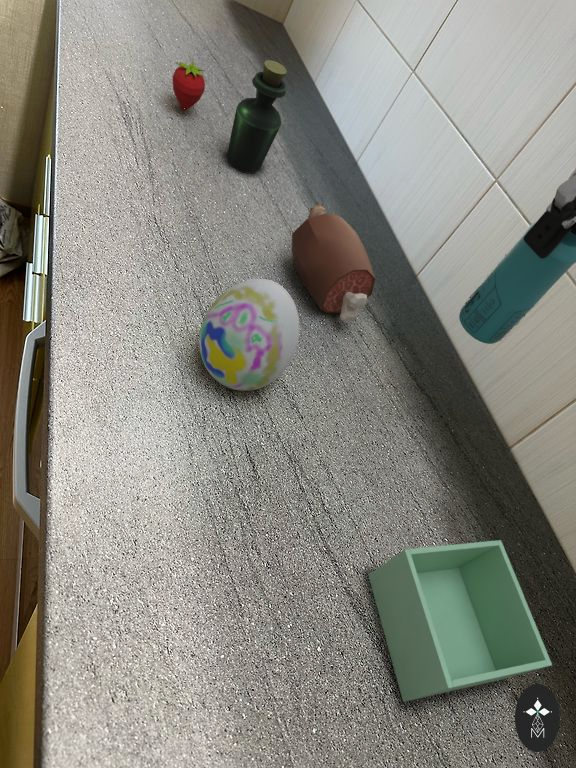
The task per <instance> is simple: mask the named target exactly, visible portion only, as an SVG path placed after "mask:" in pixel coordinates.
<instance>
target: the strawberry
mask: <svg viewBox="0 0 576 768" xmlns="http://www.w3.org/2000/svg"><path fill="white" fill-rule="evenodd" d="M189 58H190V60H191V61H192V62H191V63H189V65H188V64H187V63H183V62H181V61H180V62H175V65H178V67H177V68H175V70H174V72H173V74H172V77H171V78H172V90H173V93H174V95H175V98H176V100H177V103H178V105H179V107H180V110H182V111H183V112H187V111H188V110H189V109H190V108H192V107H194V106H195V105H196V104H197V103H198V102H199V101H200V100H201V98H202V97H203V95H204V93H205V90H206V80H205V78H204V77H205V76H204V75H203V74H202V73H201V72H206V70H204V69H202V68H200V67H197V66H195V62H194V60H193V58H192V56H189ZM184 108H185V109H184Z"/></svg>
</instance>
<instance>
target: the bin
mask: <svg viewBox="0 0 576 768" xmlns="http://www.w3.org/2000/svg"><path fill="white" fill-rule="evenodd" d="M367 576H368V580H369V583H370V586H371V590H372V595H373V598H374V600H375V601H374V602H375V604H376V609H377V612H378V615H379V619H380V624H381V626H382V630H383V634H384V637H385V641H386V644H387V648H388V652H389V655H390V658H391V662H392V667H393V670H394V673H395V677H396V681H397V684H398V688H399V692H400V696H401V699H402V702H404V703H405V702H410V701H415V700H417V699H422V698H427V697H431V696H435V695H440V694H444V693H449V692H454V691H458V690H463V689H467V688H471V687H476V686H480V685H484V684H485V685H486V684H488V683H493V682H497V681H502V680H506V679H509V678H512V677H516V676H519V675H523V674H526V673H530V672H534V671H537V670H541V669H544V668H547V667H552V666H553V663H552V661H551V659H550V656H549V654H548V651H547V649H546V646H545V643H544V641H543V639H542V637H541V634H540V632H539V629H538V626H537V624H536V622H535V620H534V617H533V615H532V613H531V610H530V607H529V605H528V601H527V600H526V597H525V595H524V592H523V590H522V587H521V585H520V583H519V580H518V578H517V575H516V573H515V571H514V568H513V566H512V563H511V560H510V558H509V556H508V553H507V552H506V549H505V547H504V544H503V542H502V539H498V540H488V541H486V540H485V541H478V542H467V543H458V544H446V545H445V544H444V545H436V546H429V547H428V546H427V547H426V546H425V547H416V548H407V549H404V550H402V551H401V552H399V553H397V554H396V555H395V556H393V557H392V558H391V559H389V560H387V561H386V562H384V564H382V565H380V566H379V567H377V568H376V569H375V570H373V571H372V572H370V573H369V574H368V575H367Z"/></svg>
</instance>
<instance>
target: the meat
mask: <svg viewBox="0 0 576 768" xmlns="http://www.w3.org/2000/svg"><path fill="white" fill-rule="evenodd" d="M326 211H327V210H326V209H325V208H324V207H323V206H321V205H320V204H318V205H315V206H313V207H311V208H310V209H309V212H308V218H306V219H305V220H304V221H303V222H302V223H301V224H300V225H299V226H298V227H297V228H296V229H295V230H294V231H293V232H292V233H291V254H292V260H293V266H294V269H295V271H296V273H297V275H298V278H299V279H300V281H301V283H302V285H303V286H304V288H305V289H306V291H307V292H308V294H309V295H310V296H311V298H312V299H313V301H314V302H315V303H316V305H317V306H318V308H319V309H320V310H322V311H323V312H325V313H326V314H339V319H340V320H341V321H342V322H344V323H346V324H348V323H350V322H353V321H356V320H357V317H358V314H359V310H360V309H362V308H363V307H365V306H366V305H367V304H368V298H370V297H371V296H372V294H373V291H374V286H375V281H376V277H375V273H374V271H373V266H372V264H371V261H370V259H369V256H368V254H367V251H366V249H365V245H364V244H363V243H362V240H361V238H360V236H359V235H358V233H357V231H356V230H354V229H353V227H352V226H351V225H350V224H349V223H347V221H346V220H344V219H343V218H342V217H341V216H340V215H339V214H333V213H332V214H331V213H326Z"/></svg>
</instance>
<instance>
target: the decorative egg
mask: <svg viewBox="0 0 576 768" xmlns="http://www.w3.org/2000/svg"><path fill="white" fill-rule="evenodd" d="M199 331H200V332H199V337H198V338H199V339H198V345H199V353H200V357H201V361H202V363H203V365H204V367H205V369H206V371H207V372H208V373H209V374H210V376H211V377H212V378H213V379H214V380H215V381H216V382H217V383H219V384H220V385H222V386H224V387H226V388H227V389H231V390H236V391H243V392H248V391H254V390H259V389H262V388H264V387H266V386H269V385H270V384H272V383H274V382H275V381H276V380H277V379H279V378H280V377H281V376H282V375H283V374H284V372H285V371H286V370H287V369H288V367H289V366H290V365H291V362H292V360H293V359H294V356H295V354H296V352H297V348H298V345H299V338H300V317H299V313H298V309H297V307H296V304H295V302H294V299H293V298H292V296H291V295H290V293H289V292H288V291H287V290H286V289H285V288H284V287H283V286H282V285H281V284H280V283H278V282H276V281H273V280H271V279H266V278H252V279H247V280H244V281H241V282H238V283H236V284H234V285H232V286H231V287H229V288H227V289H226V290H225V291H223V293H222V294H221V295H219V297H218V298H216V300H215V301H213V303H212V304H211V306H210V307H209V308H208V310H207V312H206V314H205V316H204V318H203V321H202V325H201V327H200V330H199Z"/></svg>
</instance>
